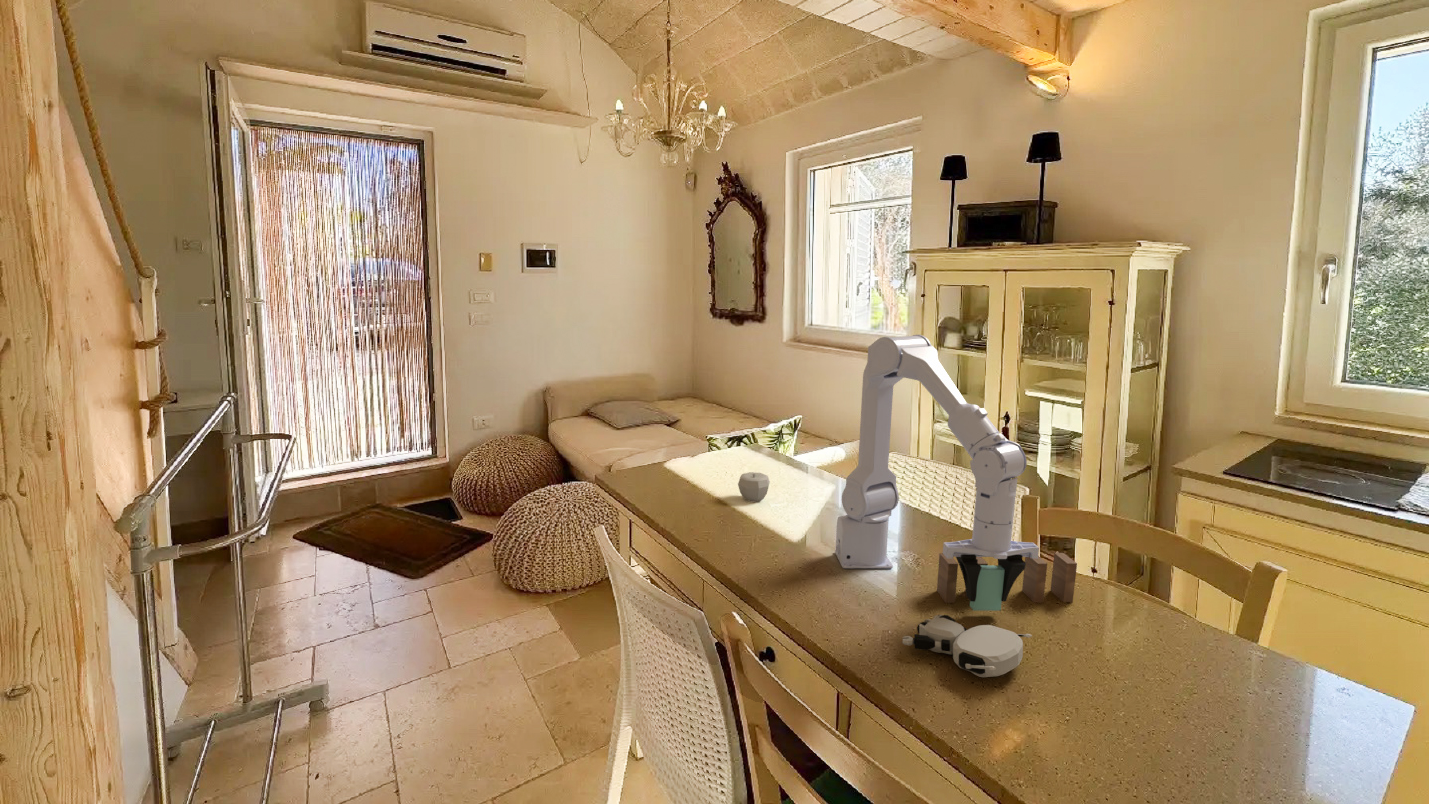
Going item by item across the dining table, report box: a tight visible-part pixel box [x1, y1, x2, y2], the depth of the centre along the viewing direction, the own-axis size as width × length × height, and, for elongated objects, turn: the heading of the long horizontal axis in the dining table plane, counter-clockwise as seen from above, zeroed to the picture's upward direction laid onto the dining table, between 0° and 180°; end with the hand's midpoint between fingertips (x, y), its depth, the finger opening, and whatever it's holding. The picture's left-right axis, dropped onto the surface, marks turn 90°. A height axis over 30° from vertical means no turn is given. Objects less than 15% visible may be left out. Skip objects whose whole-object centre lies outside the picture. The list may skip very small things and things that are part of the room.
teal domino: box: [969, 564, 1005, 612], centre depth 112 cm, size 2×4×7 cm, turn 91°
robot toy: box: [902, 614, 1033, 678], centre depth 100 cm, size 12×4×15 cm
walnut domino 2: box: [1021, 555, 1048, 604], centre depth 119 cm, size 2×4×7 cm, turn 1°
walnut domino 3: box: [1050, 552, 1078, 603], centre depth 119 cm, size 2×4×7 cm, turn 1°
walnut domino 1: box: [936, 552, 959, 604], centre depth 118 cm, size 2×4×7 cm, turn 1°
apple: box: [737, 471, 770, 503], centre depth 168 cm, size 8×8×7 cm
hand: (985, 598), depth 112 cm, fingers closed on teal domino, 4 cm apart
